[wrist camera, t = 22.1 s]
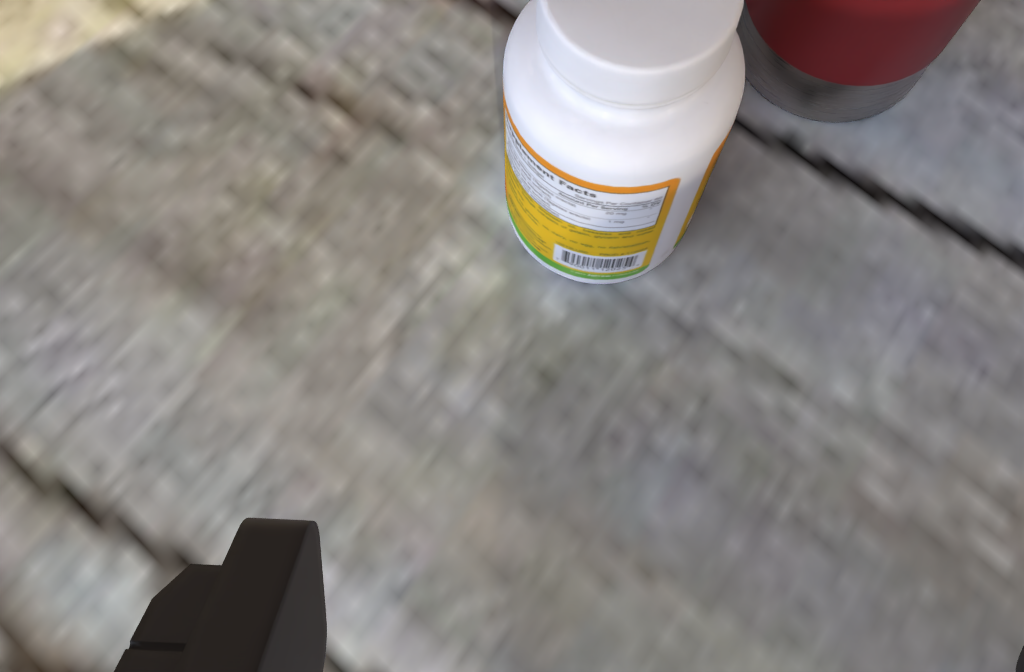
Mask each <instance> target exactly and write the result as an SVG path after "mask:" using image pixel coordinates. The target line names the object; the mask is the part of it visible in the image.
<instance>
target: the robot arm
mask: <svg viewBox="0 0 1024 672" xmlns="http://www.w3.org/2000/svg"><path fill="white" fill-rule="evenodd" d="M326 640H327V621H326V608H325V596H324V584H323V572H322V560H321V548H320V536H319V530H318V526H317V523H316V522H315V521H306V520H286V519H265V518H246V519H245V520H244V521H243V522H242V523H241V525H240V527H239V529H238V531H237V533H236V535H235V537H234V540H233V542H232V544H231V546H230V549H229V551H228V553H227V555H226V557H225V560H224V562H223V564H222V566H221V565H201V564H190V565H189V566H188V567H187V568H186V569H184V570H183V571H182V572H181V573H180V574H179V575H178V576H177V577H176V578H175V579H173V580H172V581H171V582H170V583H169V584H168V585H167V586H166V587H165V588H163V589H162V590H161V591H160V592H159V593H158V594H157V595H156V596H155V597H154V598H152V600H151V602H150V604H149V606H148V608H147V610H146V612H145V613H144V615H143V617H142V619H141V621H140V623H139V625H138V627H137V629H136V631H135V632H134V634H133V636H132V638H131V640H130V647H129V649H126V650H125V652H124V653H123V655H122V657H121V659H120V661H119V663H118V665H117V667H116V669H115V671H114V672H323V667H324V661H325V652H326ZM1016 672H1024V646H1023V649H1022V651H1021V653H1020V656H1019V658H1018V662H1017V666H1016Z"/></svg>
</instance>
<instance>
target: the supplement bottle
mask: <svg viewBox="0 0 1024 672" xmlns="http://www.w3.org/2000/svg"><path fill="white" fill-rule="evenodd" d="M743 5H744V0H530V1H529V3H528V4H527V5H526V6H525V7H524V9H523V10H522V12H521V13H520V15H519V16H518V18H517V20H516V21H515V24H514V26H513V28H512V30H511V33H510V35H509V38H508V41H507V45H506V49H505V54H504V63H503V102H504V139H505V188H506V201H507V209H508V213H509V217H510V221H511V224H512V226H513V228H514V231H515V233H516V235H517V236H518V238H519V240H520V242H521V243H522V244H523V246H524V247H525V248H526V250H527V251H528V252H529V253H530V254H531V255H532V256H533V257H534V258H535V259H536V260H537V261H538V262H539V263H541V264H542V265H543V266H545V267H546V268H548V269H549V270H551V271H553V272H555V273H557V274H559V275H561V276H564V277H566V278H569V279H572V280H575V281H579V282H584V283H591V284H610V283H619V282H623V281H627V280H630V279H633V278H636V277H639V276H641V275H643V274H645V273H647V272H649V271H650V270H652V269H654V268H655V267H656V266H658V265H659V264H661V263H662V262H663V261H664V260H665V259H666V258H667V257H668V256H669V255H670V254H671V253H672V252H673V250H674V249H675V248H676V246H677V245H678V244H679V242H680V240H681V239H682V237H683V235H684V233H685V231H686V229H687V227H688V225H689V223H690V221H691V218H692V216H693V214H694V211H695V209H696V206H697V204H698V202H699V200H700V197H701V195H702V193H703V191H704V188H705V186H706V184H707V181H708V179H709V177H710V174H711V172H712V170H713V168H714V166H715V164H716V161H717V159H718V157H719V155H720V152H721V150H722V148H723V146H724V144H725V141H726V139H727V137H728V135H729V133H730V130H731V128H732V126H733V123H734V121H735V118H736V115H737V112H738V109H739V106H740V103H741V99H742V96H743V91H744V84H745V61H744V54H743V49H742V45H741V42H740V38H739V36H738V34H737V31H736V28H737V25H738V22H739V19H740V16H741V13H742V9H743Z"/></svg>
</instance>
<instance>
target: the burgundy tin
mask: <svg viewBox="0 0 1024 672" xmlns="http://www.w3.org/2000/svg"><path fill="white" fill-rule="evenodd" d="M979 2H980V0H744V5H743V9H742V13H741V16H740V19H739V22H738V25H737V28H736V31H737V34H738V36H739V38H740V42H741V45H742V49H743V54H744V61H745V77H746V78H747V79H748V80H749V82H750V83H751V84H752V86H753V87H754V88H755V89H756V90H757V91H759V92H760V93H761V94H762V95H763V96H764V97H765V98H767V99H768V100H769V101H771V102H772V103H774V104H775V105H777V106H779V107H780V108H782V109H784V110H786V111H788V112H790V113H793V114H795V115H798V116H801V117H804V118H807V119H812V120H817V121H824V122H849V121H856V120H861V119H865V118H868V117H872V116H874V115H876V114H879V113H881V112H883V111H885V110H887V109H889V108H890V107H892V106H894V105H895V104H896V103H897V102H899V101H900V100H901V99H902V98H903V97H904V96H905V95H906V94H907V93H908V92H909V91H910V90H911V88H912V87H913V86H914V84H915V83H916V82H917V80H918V79H919V78H920V76H921V75H922V74H923V72H924V71H925V70H926V68H927V67H928V66H929V64H930V63H931V62H932V61H933V60H934V59H935V58H936V57H937V56H938V55H939V54H940V53H941V52H942V51H943V49H944V48H945V47H946V45H947V44H948V43H949V41H950V40H951V39H952V37H953V36H954V35H955V33H956V32H957V31H958V29H959V28H960V27H961V26H962V24H963V23H964V22H965V20H966V19H967V18H968V16H969V15H970V14H971V12H972V11H973V10H974V8H975V7H976V6H977V4H978V3H979Z"/></svg>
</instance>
